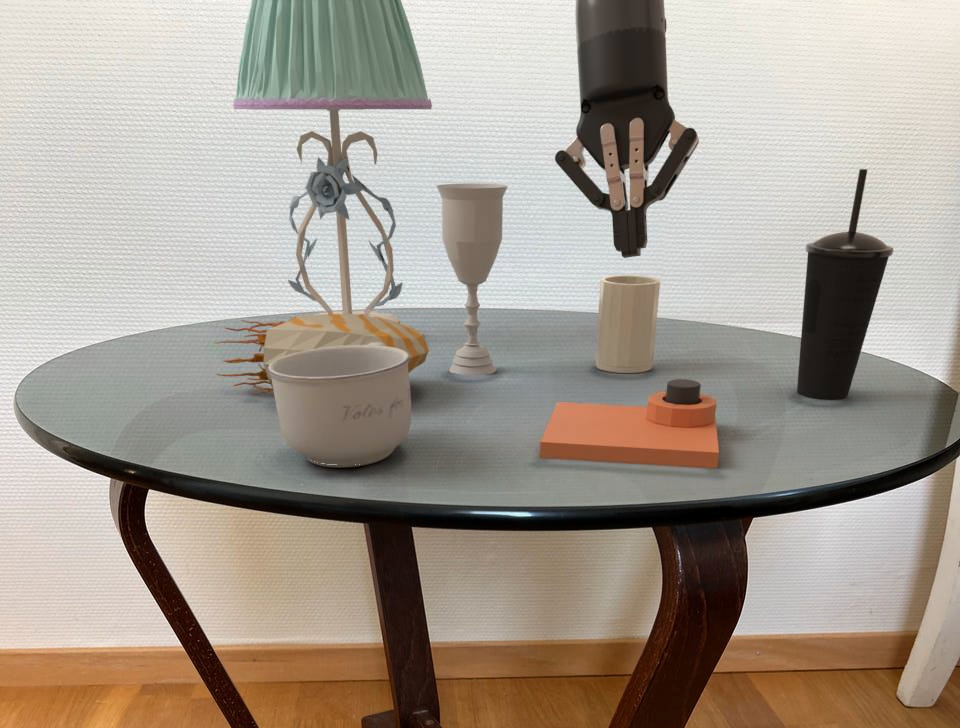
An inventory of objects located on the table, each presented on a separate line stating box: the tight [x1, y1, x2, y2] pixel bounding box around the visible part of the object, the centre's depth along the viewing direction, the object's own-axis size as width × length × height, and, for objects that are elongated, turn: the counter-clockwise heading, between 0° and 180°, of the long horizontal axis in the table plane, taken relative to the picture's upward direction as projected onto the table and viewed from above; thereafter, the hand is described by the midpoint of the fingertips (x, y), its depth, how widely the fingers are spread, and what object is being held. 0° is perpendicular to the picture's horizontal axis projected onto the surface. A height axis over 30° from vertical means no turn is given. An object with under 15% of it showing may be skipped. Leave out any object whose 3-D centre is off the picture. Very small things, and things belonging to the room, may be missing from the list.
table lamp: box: [232, 0, 433, 323], centre depth 106 cm, size 22×22×40 cm
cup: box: [595, 274, 661, 374], centre depth 101 cm, size 6×6×9 cm
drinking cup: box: [796, 168, 894, 401], centre depth 88 cm, size 8×8×20 cm
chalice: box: [436, 182, 509, 376], centre depth 97 cm, size 7×7×18 cm
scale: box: [539, 391, 720, 469], centre depth 79 cm, size 14×12×3 cm
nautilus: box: [213, 313, 430, 396], centre depth 91 cm, size 8×22×15 cm
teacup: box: [268, 342, 412, 469], centre depth 75 cm, size 14×11×8 cm
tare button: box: [665, 378, 702, 405], centre depth 80 cm, size 3×3×2 cm
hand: (631, 255), depth 85 cm, fingers closed
